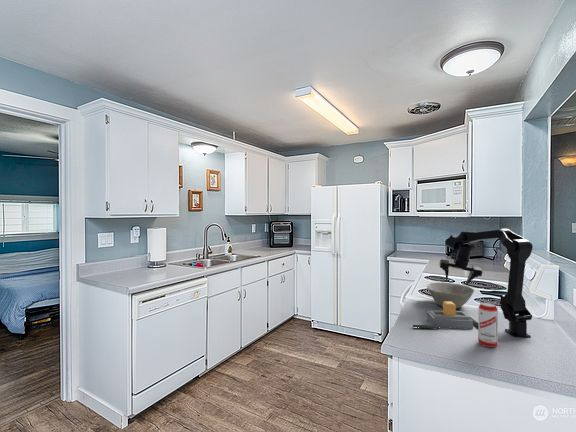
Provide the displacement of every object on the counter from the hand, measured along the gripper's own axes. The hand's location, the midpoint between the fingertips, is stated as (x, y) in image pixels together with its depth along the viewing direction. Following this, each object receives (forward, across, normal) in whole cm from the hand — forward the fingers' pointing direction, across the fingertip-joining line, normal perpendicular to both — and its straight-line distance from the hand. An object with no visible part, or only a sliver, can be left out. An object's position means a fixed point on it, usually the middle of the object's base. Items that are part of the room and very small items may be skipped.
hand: (456, 282), depth 155 cm
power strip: (+9, +3, +26) cm, 27 cm away
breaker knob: (+5, +4, +25) cm, 26 cm away
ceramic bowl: (+15, 0, +1) cm, 15 cm away
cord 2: (+8, -7, +23) cm, 25 cm away
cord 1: (+8, +14, +35) cm, 39 cm away
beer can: (+3, -8, +43) cm, 43 cm away
